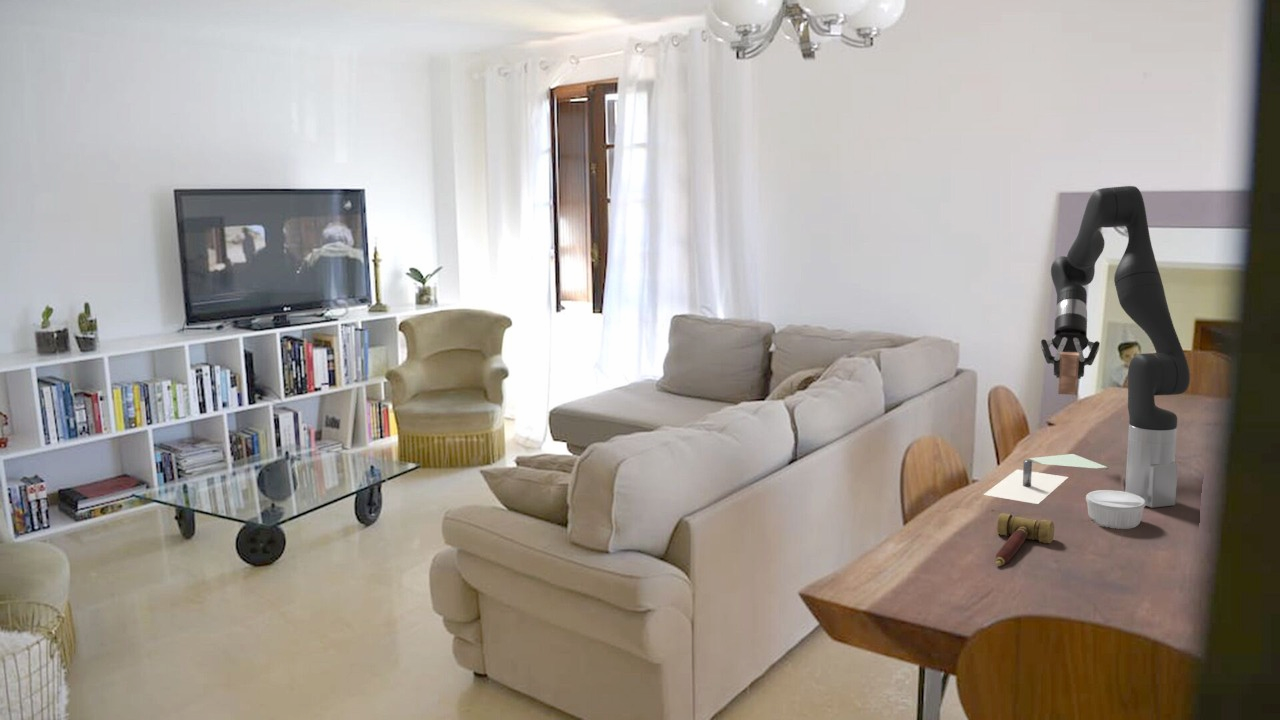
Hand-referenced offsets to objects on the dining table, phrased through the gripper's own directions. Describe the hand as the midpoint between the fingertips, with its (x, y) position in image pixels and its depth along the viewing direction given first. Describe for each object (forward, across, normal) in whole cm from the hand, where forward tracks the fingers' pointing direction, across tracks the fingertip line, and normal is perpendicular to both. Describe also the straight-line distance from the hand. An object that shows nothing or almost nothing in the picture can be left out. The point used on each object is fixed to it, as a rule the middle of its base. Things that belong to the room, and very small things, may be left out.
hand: (1068, 376), depth 231 cm
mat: (+15, +1, +18) cm, 24 cm away
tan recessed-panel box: (+2, 0, +5) cm, 5 cm away
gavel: (+61, -9, -28) cm, 68 cm away
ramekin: (+44, +10, -12) cm, 47 cm away
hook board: (+32, -8, 0) cm, 33 cm away
